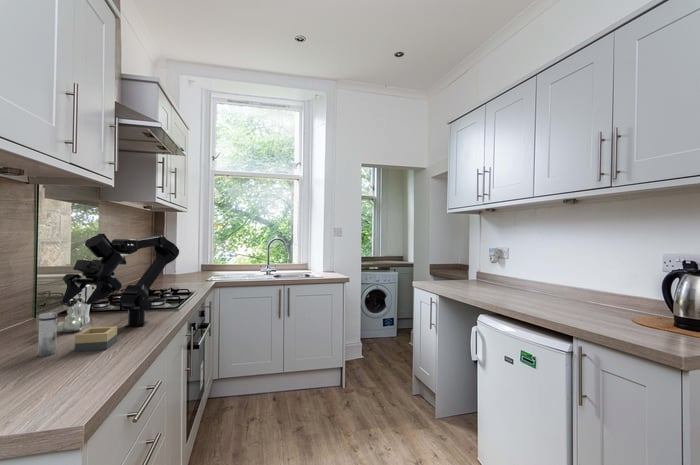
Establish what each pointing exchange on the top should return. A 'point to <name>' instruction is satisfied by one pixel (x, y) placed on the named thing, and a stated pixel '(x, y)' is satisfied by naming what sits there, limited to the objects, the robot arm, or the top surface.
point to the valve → (70, 318)
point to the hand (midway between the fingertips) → (75, 303)
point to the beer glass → (82, 305)
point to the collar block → (95, 339)
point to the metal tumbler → (47, 334)
